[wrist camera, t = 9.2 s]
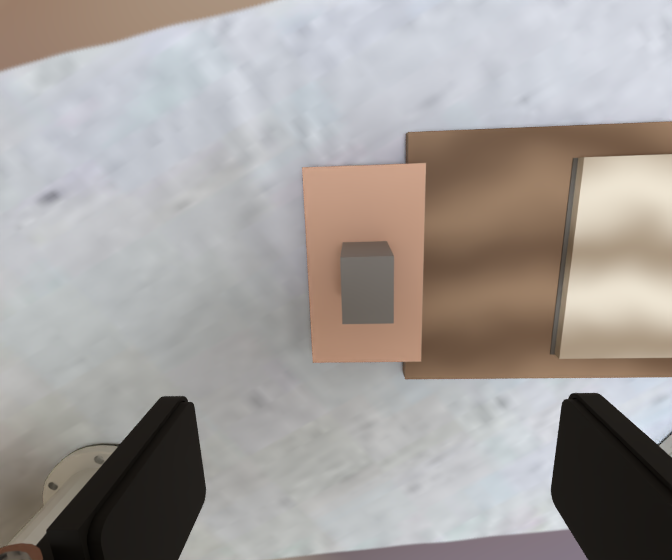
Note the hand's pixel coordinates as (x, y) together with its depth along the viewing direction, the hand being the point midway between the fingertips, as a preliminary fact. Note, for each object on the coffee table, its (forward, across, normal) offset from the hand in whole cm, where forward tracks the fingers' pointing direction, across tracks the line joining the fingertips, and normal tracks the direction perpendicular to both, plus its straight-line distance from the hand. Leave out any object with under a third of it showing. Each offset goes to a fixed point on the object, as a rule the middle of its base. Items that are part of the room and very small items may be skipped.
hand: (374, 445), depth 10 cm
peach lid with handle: (+19, 0, 0) cm, 19 cm away
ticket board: (+20, -15, 0) cm, 25 cm away
